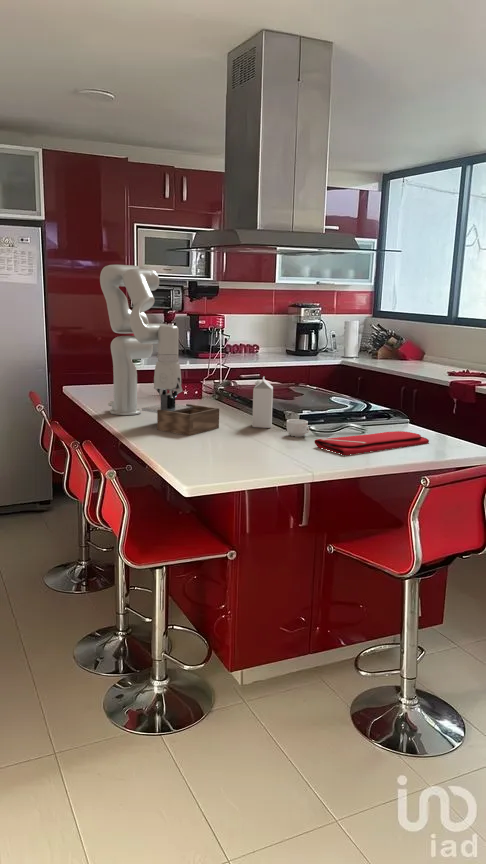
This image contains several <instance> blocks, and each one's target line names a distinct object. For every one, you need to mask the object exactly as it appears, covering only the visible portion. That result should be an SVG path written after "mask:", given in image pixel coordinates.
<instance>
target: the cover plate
mask: <svg viewBox="0 0 486 864" xmlns="http://www.w3.org/2000/svg"><path fill="white" fill-rule="evenodd" d="M169 398H170V393H169V392H167V393H166V394H161V397H160V404H156V405H150V406H145V407H142V408H141V412H148V413H156V414H157V410H166V411H173V412H183V411H188V410H193V409H194V407H192V406H186V404H184V405H183V404H176V403H175V408H169Z"/></svg>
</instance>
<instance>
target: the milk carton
mask: <svg viewBox="0 0 486 864" xmlns="http://www.w3.org/2000/svg"><path fill="white" fill-rule="evenodd" d="M265 377H266V376H264V375H263V377H262V380H260V379H257V381H255V382H254V384H255V386H254V387H253V391H252V392H253V393H252V417H251V418H252V420H251V421H252V422H251V424H252V425H251V426H252V428H261V429H262V428H264V429H267V428H268V429H271V428H272V424H273V401H274V386H273V385H271V383H270V382H269V381H267V380H266V379H265Z"/></svg>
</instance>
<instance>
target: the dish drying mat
mask: <svg viewBox="0 0 486 864" xmlns="http://www.w3.org/2000/svg"><path fill="white" fill-rule="evenodd" d="M429 443H430V440H429V439H428V438H426V437H424V436H422V435H421V434H419V433H415V432H410V431H402V430H400V431H384V432H383V431H382V432H377V433H369V434H359V435H350V436H349V435H347V436H341V437H340V436H339V437H328V438H318V439H315V440H314V444H315V446H316V447H317V448H318V449H320V448H323V449H327V450H330V451H333V452H336V453H340V454H342V455H348V456H351V455H350V454H355V455H357V454H356V453H362V454H365V453H364V452H369V453H371V452H370V451H376V452H380V451H379V450H382V451H386V450H385V449H389V450H393V449H392V448H395V449H400V448H399V447H402V448H406V447H407V446H408V447H413V446H418V445H419V446H420V445H425V444H429ZM336 453H335V454H336ZM342 455H341V456H342Z"/></svg>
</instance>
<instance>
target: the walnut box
mask: <svg viewBox="0 0 486 864" xmlns="http://www.w3.org/2000/svg"><path fill="white" fill-rule="evenodd" d="M185 406H192V407H194V409H193V410H188V411H183V412H173V411H166V410H157V413H156V414H157V417H156V419H157V422H156V423H157V424H156V425H157V426H156V427H157V428H156V429H157V430H156V431H162V432H168V433H173V434H177V435H178V434H179V435H185V436H193V435H196V434H201V433H205V432H210V431H213V430H216V429H217V430H218V429H219V428H220V408H218V407H212V406H205V405H204V406H203V405H198V404H191V403H190V404H189V403H186V404H185Z"/></svg>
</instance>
